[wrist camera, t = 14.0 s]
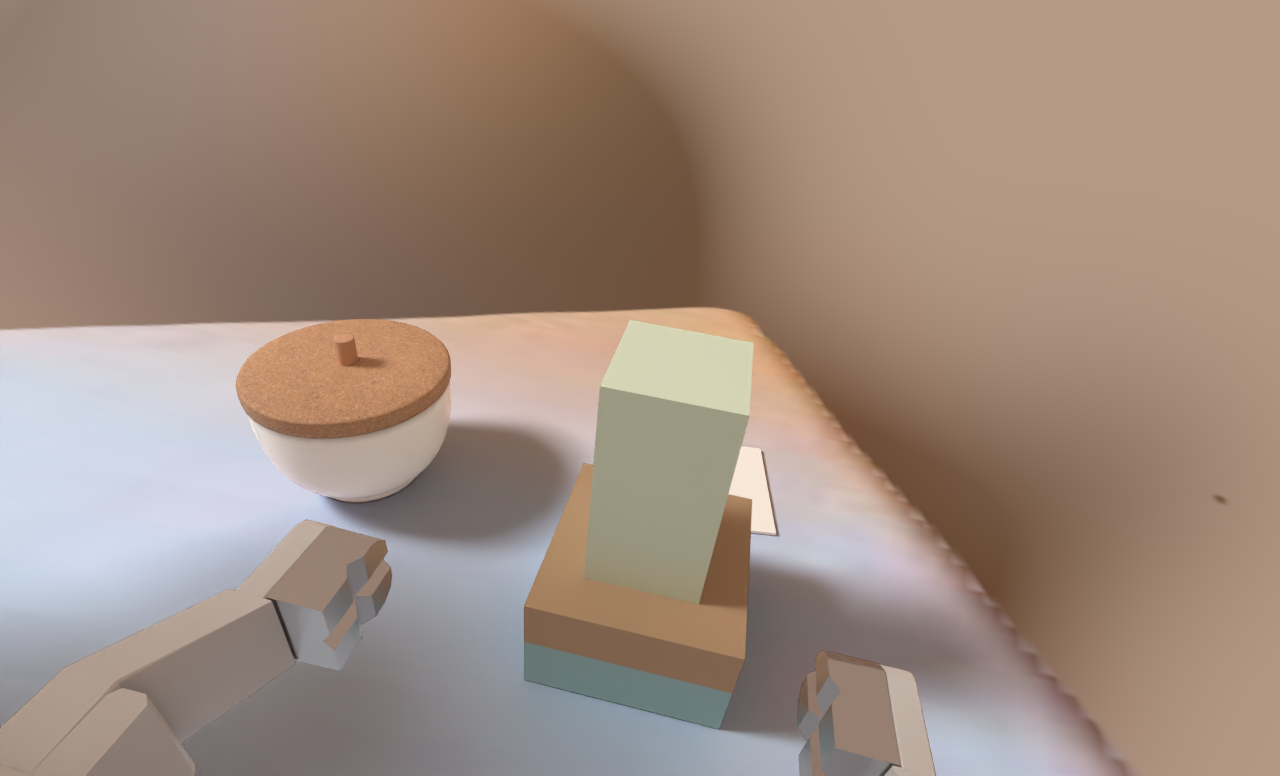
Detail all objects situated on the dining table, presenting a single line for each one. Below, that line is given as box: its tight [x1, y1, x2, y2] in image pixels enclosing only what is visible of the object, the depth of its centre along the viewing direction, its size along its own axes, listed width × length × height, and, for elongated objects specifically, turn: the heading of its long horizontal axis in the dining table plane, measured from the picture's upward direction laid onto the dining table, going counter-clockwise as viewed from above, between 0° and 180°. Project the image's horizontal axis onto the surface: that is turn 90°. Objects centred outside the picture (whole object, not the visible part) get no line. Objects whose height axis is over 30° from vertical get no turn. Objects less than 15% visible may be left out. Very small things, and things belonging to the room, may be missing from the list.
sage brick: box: [584, 320, 753, 604], centre depth 24 cm, size 5×5×10 cm
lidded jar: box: [236, 319, 451, 502], centre depth 34 cm, size 11×11×9 cm
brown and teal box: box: [524, 463, 752, 729], centre depth 28 cm, size 9×9×6 cm
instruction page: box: [729, 446, 776, 536], centre depth 39 cm, size 10×8×1 cm
